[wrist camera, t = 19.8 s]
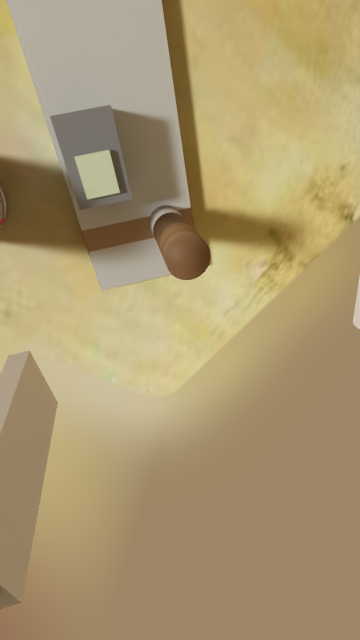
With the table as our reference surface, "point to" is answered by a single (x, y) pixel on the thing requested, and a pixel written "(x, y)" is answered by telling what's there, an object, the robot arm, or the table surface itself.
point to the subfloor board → (128, 111)
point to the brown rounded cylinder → (179, 243)
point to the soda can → (2, 206)
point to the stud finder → (92, 156)
